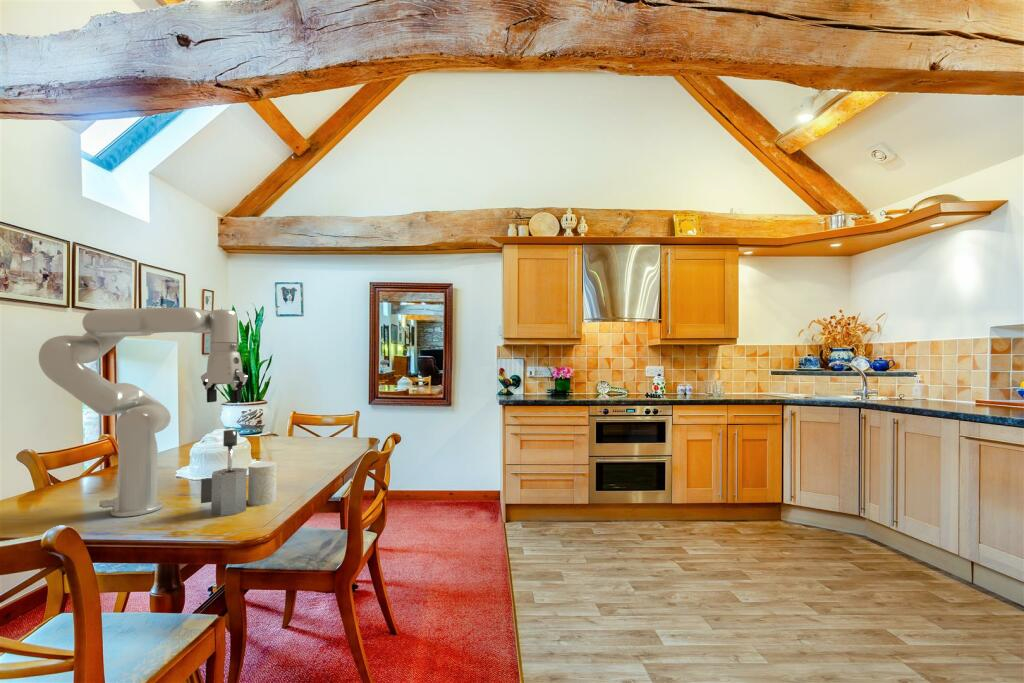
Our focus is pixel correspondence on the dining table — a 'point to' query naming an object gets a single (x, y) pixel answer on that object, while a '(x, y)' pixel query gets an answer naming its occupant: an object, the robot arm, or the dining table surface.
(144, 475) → the robot arm
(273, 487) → the light grey cylinder
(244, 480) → the octagonal faceted vessel
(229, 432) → the plunger
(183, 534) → the dining table surface
